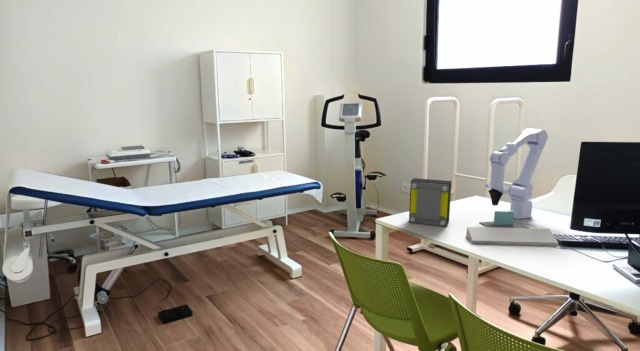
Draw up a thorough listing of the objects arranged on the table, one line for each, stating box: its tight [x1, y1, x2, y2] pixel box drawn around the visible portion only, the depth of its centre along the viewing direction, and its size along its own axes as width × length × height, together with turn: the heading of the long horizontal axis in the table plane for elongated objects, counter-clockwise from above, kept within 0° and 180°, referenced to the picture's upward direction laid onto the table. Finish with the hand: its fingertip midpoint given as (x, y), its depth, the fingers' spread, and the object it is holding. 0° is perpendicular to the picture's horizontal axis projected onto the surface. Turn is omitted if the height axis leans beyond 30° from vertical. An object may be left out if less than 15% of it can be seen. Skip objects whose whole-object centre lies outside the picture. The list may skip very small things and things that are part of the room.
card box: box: [493, 209, 515, 225], centre depth 213 cm, size 9×2×6 cm, turn 103°
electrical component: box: [408, 177, 452, 227], centre depth 215 cm, size 18×10×20 cm, turn 68°
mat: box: [478, 219, 530, 228], centre depth 212 cm, size 18×14×1 cm
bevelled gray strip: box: [465, 226, 559, 247], centre depth 192 cm, size 34×5×10 cm
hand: (494, 205), depth 219 cm, fingers closed
